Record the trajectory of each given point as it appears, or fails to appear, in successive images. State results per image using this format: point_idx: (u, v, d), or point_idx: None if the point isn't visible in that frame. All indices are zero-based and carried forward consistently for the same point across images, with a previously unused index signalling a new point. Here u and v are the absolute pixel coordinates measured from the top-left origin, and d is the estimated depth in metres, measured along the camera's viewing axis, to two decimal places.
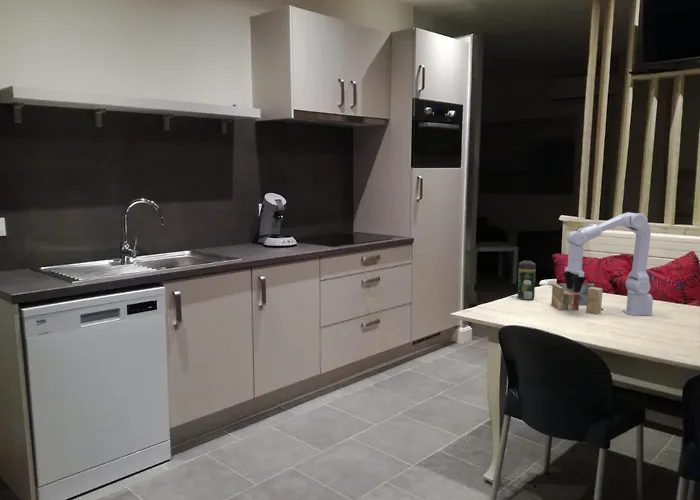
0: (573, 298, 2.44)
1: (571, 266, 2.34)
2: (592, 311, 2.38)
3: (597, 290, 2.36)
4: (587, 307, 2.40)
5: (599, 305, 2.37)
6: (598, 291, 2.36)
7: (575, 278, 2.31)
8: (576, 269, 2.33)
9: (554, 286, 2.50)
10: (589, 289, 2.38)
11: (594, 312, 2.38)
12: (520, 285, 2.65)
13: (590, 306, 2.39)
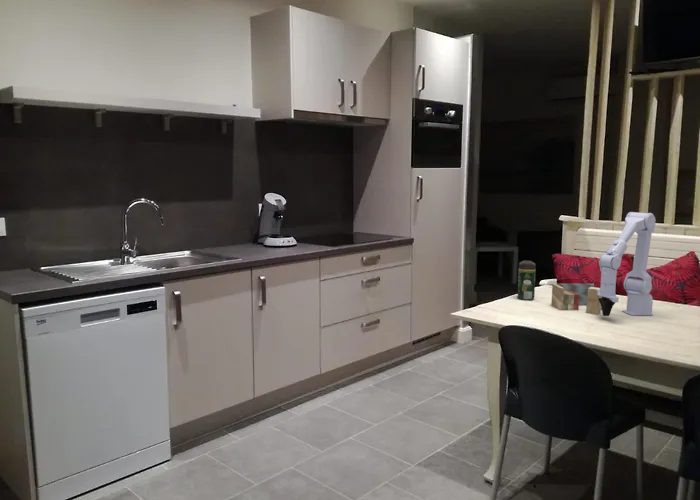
0: (573, 298, 2.44)
1: (604, 291, 2.26)
2: (592, 311, 2.38)
3: None
4: (587, 307, 2.40)
5: (599, 305, 2.37)
6: None
7: (605, 301, 2.26)
8: (609, 294, 2.25)
9: (554, 286, 2.50)
10: (589, 289, 2.38)
11: (594, 312, 2.38)
12: (520, 285, 2.65)
13: (590, 306, 2.39)
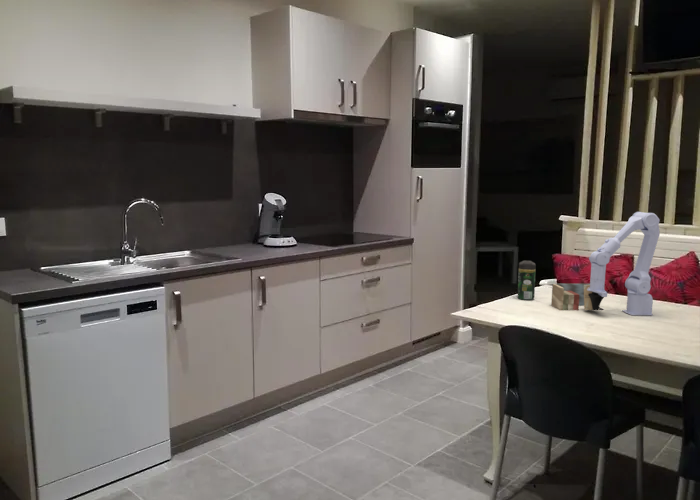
0: (573, 298, 2.44)
1: (594, 286, 2.35)
2: (590, 307, 2.40)
3: None
4: (585, 304, 2.41)
5: None
6: None
7: (594, 296, 2.35)
8: (599, 289, 2.34)
9: (554, 286, 2.50)
10: (584, 286, 2.42)
11: None
12: (520, 285, 2.65)
13: (587, 302, 2.41)
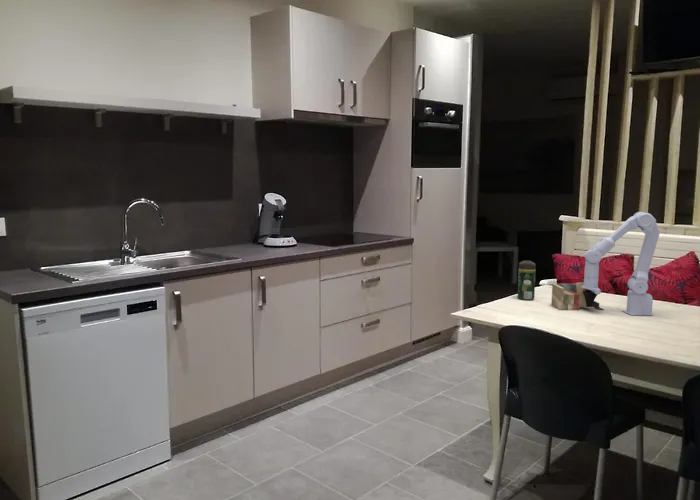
0: (573, 298, 2.44)
1: (588, 284, 2.41)
2: (584, 304, 2.45)
3: None
4: None
5: None
6: None
7: (587, 293, 2.41)
8: (592, 286, 2.40)
9: (554, 286, 2.50)
10: (577, 283, 2.48)
11: None
12: (520, 285, 2.65)
13: (581, 300, 2.46)
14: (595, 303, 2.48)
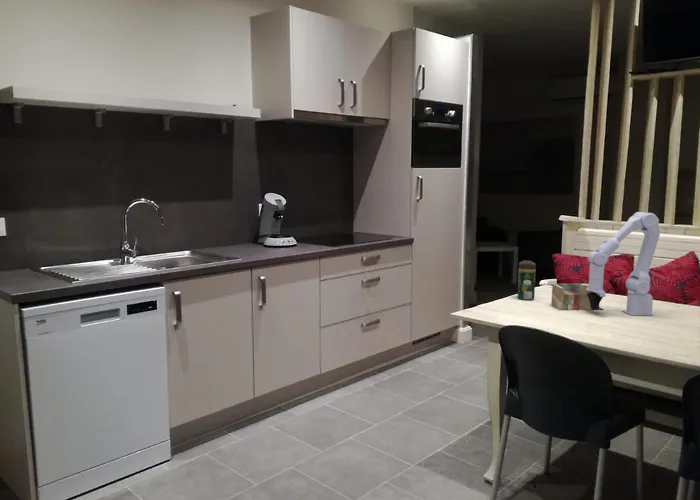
0: (573, 298, 2.44)
1: (593, 286, 2.36)
2: (584, 307, 2.45)
3: None
4: (579, 303, 2.46)
5: None
6: None
7: (593, 296, 2.36)
8: (597, 289, 2.35)
9: (554, 286, 2.50)
10: (581, 285, 2.46)
11: (586, 308, 2.45)
12: (520, 285, 2.65)
13: (582, 302, 2.46)
14: None
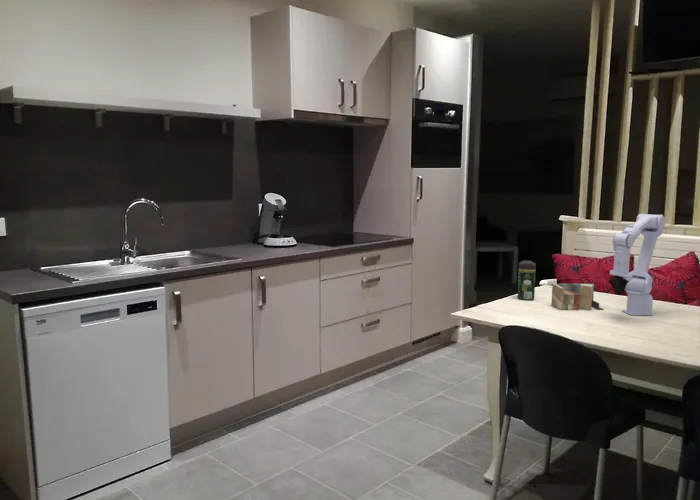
0: (573, 298, 2.44)
1: (618, 269, 2.25)
2: (584, 307, 2.45)
3: (589, 287, 2.44)
4: (579, 303, 2.46)
5: (591, 301, 2.45)
6: (590, 287, 2.43)
7: (618, 280, 2.25)
8: (623, 272, 2.24)
9: (554, 286, 2.50)
10: (581, 286, 2.45)
11: (586, 308, 2.45)
12: (520, 285, 2.65)
13: (582, 302, 2.46)
14: (595, 303, 2.48)
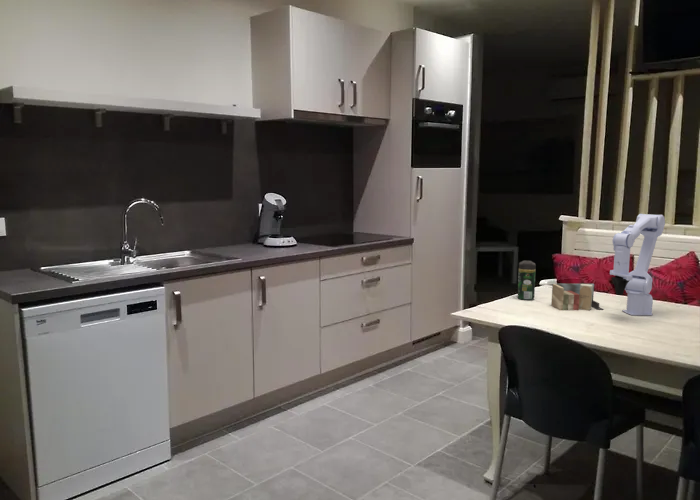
0: (573, 298, 2.44)
1: (618, 269, 2.25)
2: (584, 307, 2.45)
3: (589, 287, 2.44)
4: (579, 303, 2.46)
5: (591, 301, 2.45)
6: (590, 287, 2.43)
7: (618, 280, 2.25)
8: (623, 272, 2.24)
9: (554, 286, 2.50)
10: (581, 286, 2.45)
11: (586, 308, 2.45)
12: (520, 285, 2.65)
13: (582, 302, 2.46)
14: (595, 303, 2.48)
